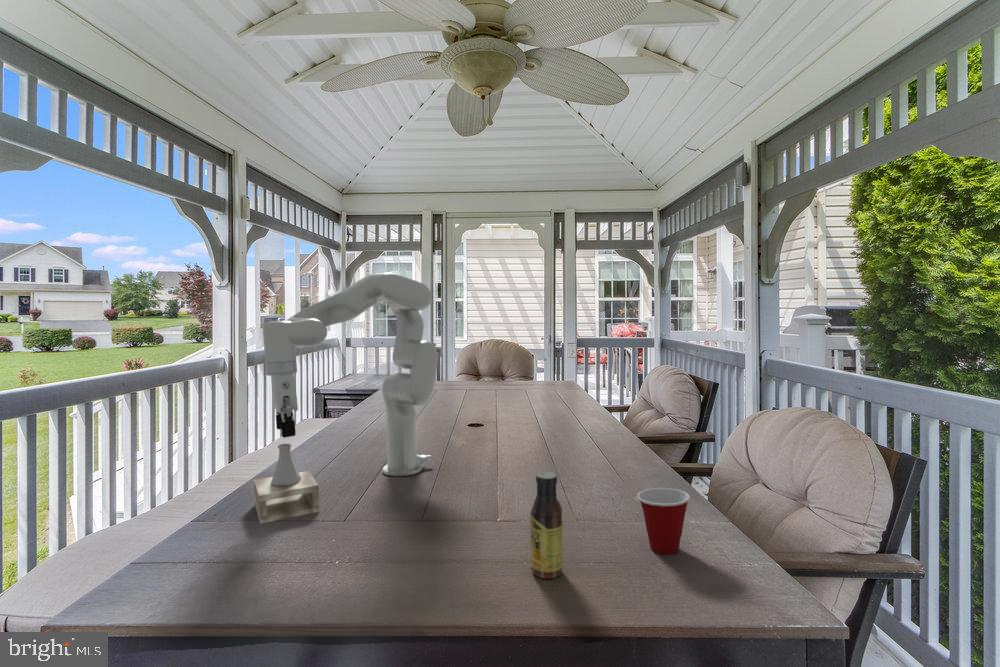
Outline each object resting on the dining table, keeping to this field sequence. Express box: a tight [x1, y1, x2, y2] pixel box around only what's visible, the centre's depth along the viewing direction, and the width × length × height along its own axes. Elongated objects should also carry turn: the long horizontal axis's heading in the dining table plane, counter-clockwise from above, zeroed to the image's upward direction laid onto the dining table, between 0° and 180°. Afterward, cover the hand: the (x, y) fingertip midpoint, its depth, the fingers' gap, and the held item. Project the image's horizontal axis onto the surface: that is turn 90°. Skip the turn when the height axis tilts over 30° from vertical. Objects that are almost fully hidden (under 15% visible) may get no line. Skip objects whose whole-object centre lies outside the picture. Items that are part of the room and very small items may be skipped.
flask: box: [271, 443, 301, 486], centre depth 137 cm, size 7×7×10 cm
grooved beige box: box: [253, 470, 320, 525], centre depth 137 cm, size 14×14×7 cm
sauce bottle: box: [530, 471, 564, 579], centre depth 102 cm, size 7×6×20 cm
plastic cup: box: [636, 487, 691, 556], centre depth 111 cm, size 11×11×12 cm
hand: (286, 432), depth 137 cm, fingers open, 9 cm apart
